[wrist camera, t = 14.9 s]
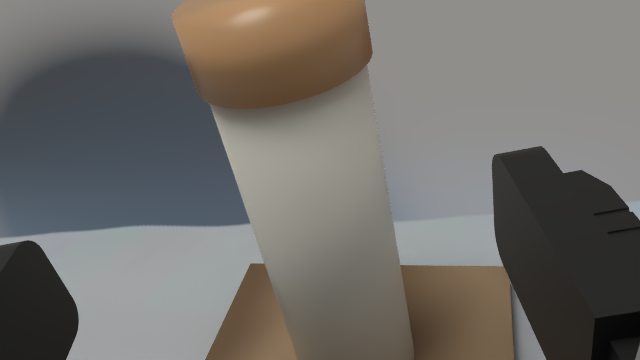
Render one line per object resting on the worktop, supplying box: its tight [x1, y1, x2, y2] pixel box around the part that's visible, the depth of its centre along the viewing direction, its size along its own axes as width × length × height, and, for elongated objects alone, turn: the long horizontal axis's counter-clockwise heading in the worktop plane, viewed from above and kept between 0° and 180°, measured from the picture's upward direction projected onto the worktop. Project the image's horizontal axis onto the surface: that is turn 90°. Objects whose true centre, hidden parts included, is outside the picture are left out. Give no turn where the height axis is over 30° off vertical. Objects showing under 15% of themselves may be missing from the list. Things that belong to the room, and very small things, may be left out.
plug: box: [172, 0, 414, 360], centre depth 18 cm, size 5×5×14 cm
